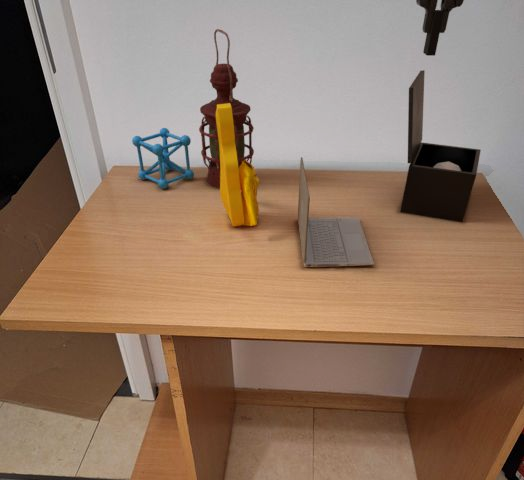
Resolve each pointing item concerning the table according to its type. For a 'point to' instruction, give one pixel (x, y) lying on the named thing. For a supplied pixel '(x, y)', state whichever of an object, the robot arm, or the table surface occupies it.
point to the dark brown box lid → (415, 115)
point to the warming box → (440, 182)
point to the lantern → (224, 84)
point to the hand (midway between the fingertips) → (429, 53)
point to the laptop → (329, 236)
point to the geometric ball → (447, 166)
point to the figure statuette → (235, 174)
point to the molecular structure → (163, 157)
